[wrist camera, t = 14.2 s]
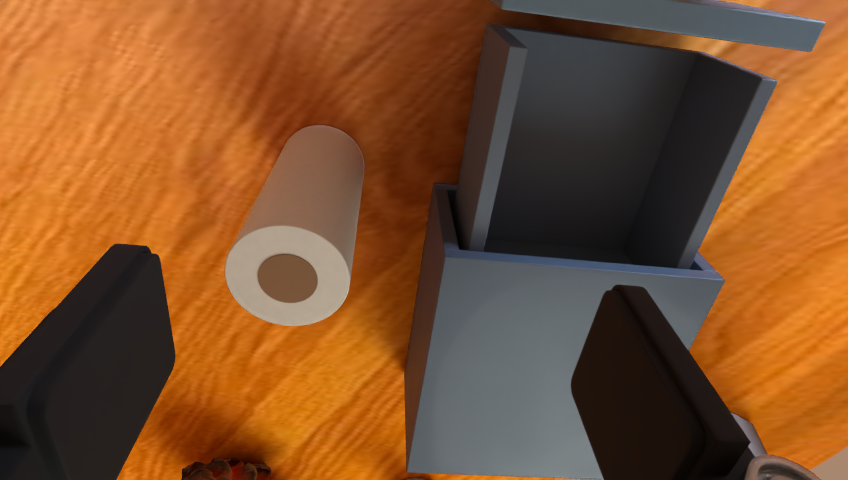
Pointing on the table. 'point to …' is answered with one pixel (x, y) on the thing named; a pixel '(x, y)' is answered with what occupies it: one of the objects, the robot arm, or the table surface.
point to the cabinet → (516, 351)
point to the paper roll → (301, 231)
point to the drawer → (611, 130)
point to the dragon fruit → (226, 470)
